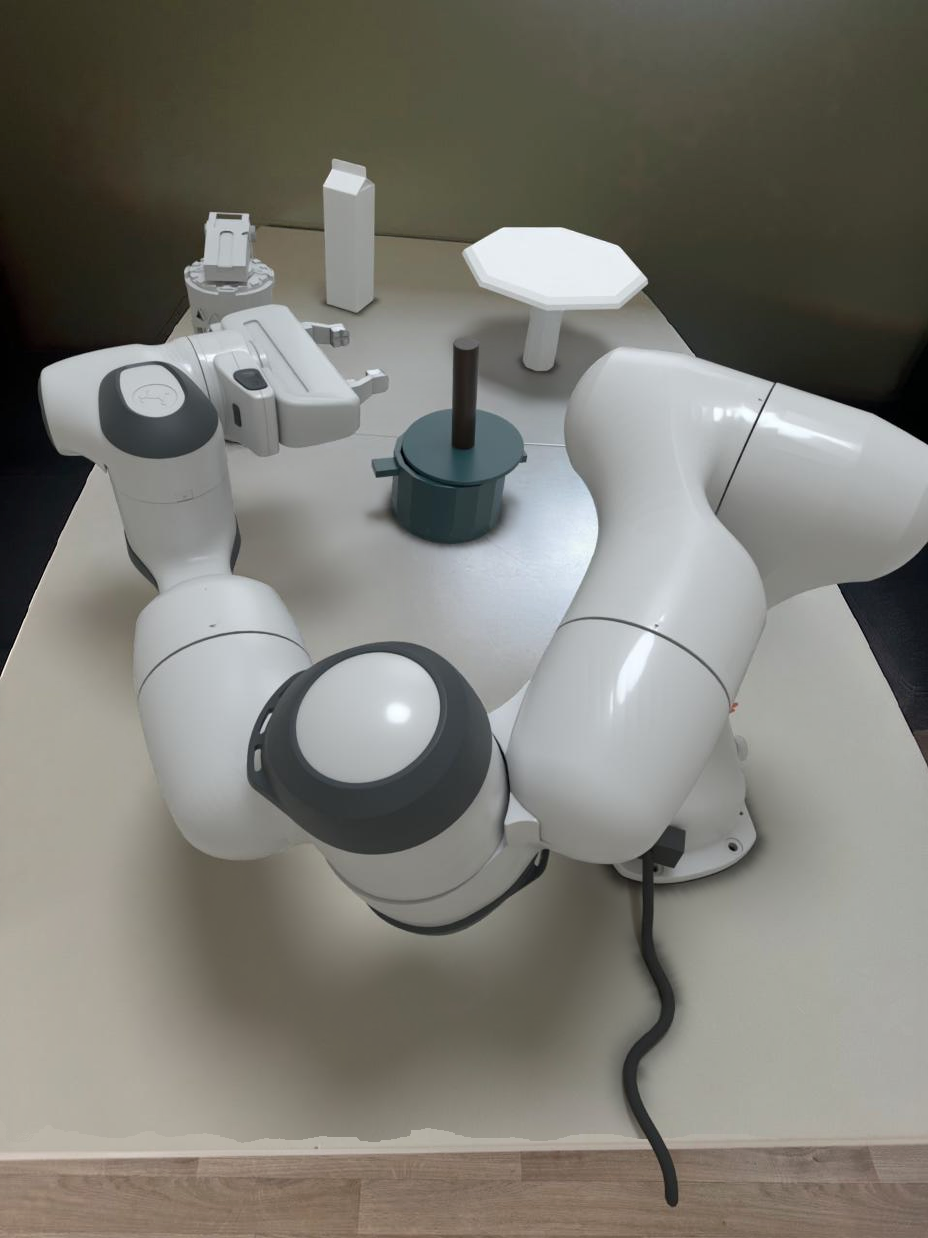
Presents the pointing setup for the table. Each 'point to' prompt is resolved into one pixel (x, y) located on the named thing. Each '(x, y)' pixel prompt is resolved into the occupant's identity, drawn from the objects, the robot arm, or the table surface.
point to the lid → (463, 432)
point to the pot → (439, 502)
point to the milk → (349, 236)
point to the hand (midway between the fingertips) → (365, 355)
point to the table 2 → (552, 279)
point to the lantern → (227, 274)
